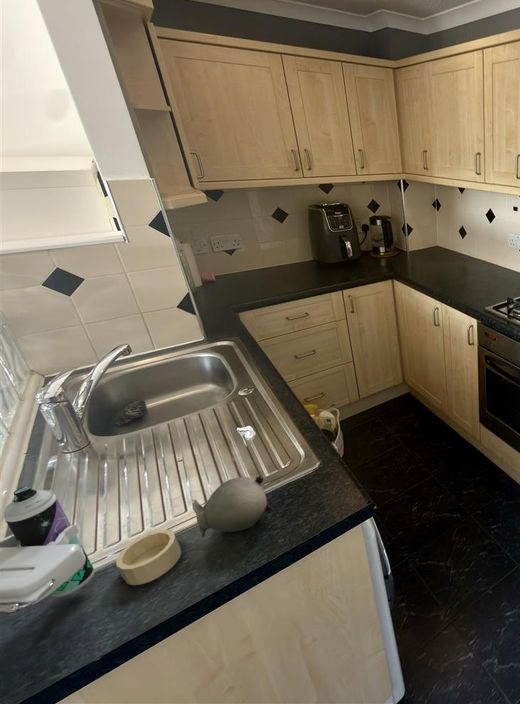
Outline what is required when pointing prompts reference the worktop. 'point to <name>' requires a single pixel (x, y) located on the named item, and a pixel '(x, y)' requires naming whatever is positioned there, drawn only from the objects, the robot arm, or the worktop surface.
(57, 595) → the spray can
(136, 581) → the beige base ring
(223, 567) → the worktop surface
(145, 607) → the worktop surface
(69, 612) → the worktop surface
